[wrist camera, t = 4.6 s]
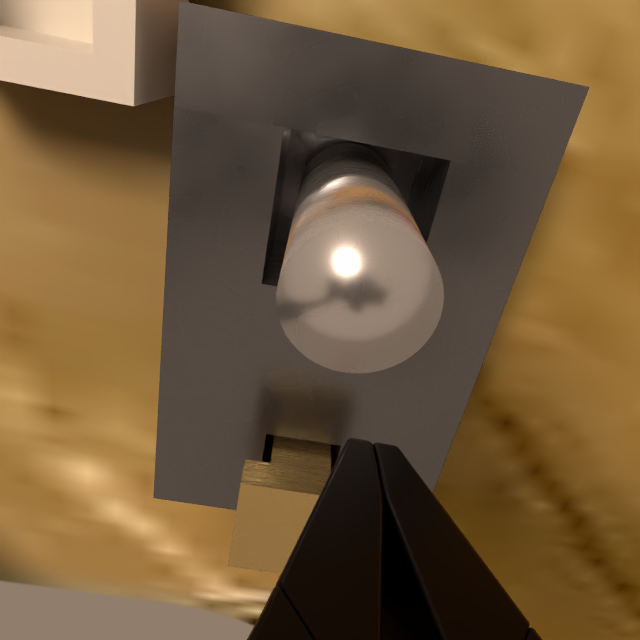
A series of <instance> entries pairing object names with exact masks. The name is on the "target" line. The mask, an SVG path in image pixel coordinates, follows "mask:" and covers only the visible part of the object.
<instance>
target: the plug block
mask: <svg viewBox="0 0 640 640" xmlns="http://www.w3.org/2000/svg"><path fill="white" fill-rule="evenodd" d="M330 473H331V444H328V443H321V442H315V441H308V440H302V439H296V438H289V437H283V436H276V435H273V441H272V448H271V454H270V461H269V463H266V462H260V461H253V460H247V459H246V460H245V465H244V469H243V474H242V479H241V484H240V490H239V497H238V503H237V510H236V516H235V523H234V529H233V536H232V542H231V549H230V555H229V561H228V566H230V567H238V568H245V569H252V570H259V571H266V572H274V573H282V571H283V569H284V567H285V565H286V563H287V561H288V559H289V557H290V555H291V553H292V551H293V549H294V547H295V544H296V542H297V540H298V538H299V536H300V534H301V532H302V530H303V528H304V526H305V524H306V522H307V520H308V518H309V516H310V514H311V512H312V510H313V508H314V506H315V504H316V502H317V500H318V498H319V496H320V494H321V492H322V489H323V487H324V485H325V483H326V481H327V479H328V477H329V475H330Z"/></svg>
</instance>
